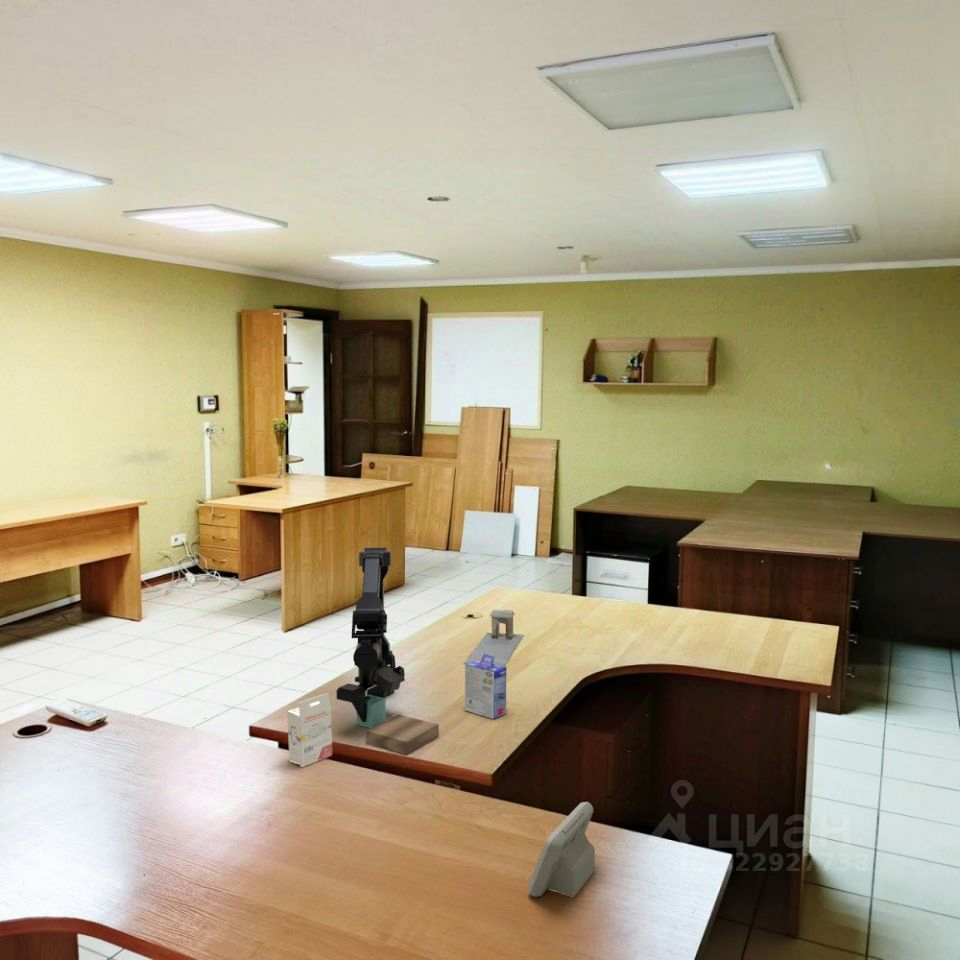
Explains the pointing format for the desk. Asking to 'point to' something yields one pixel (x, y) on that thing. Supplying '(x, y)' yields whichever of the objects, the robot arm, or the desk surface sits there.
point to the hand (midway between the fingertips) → (371, 718)
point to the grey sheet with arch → (497, 640)
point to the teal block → (373, 712)
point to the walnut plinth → (402, 734)
